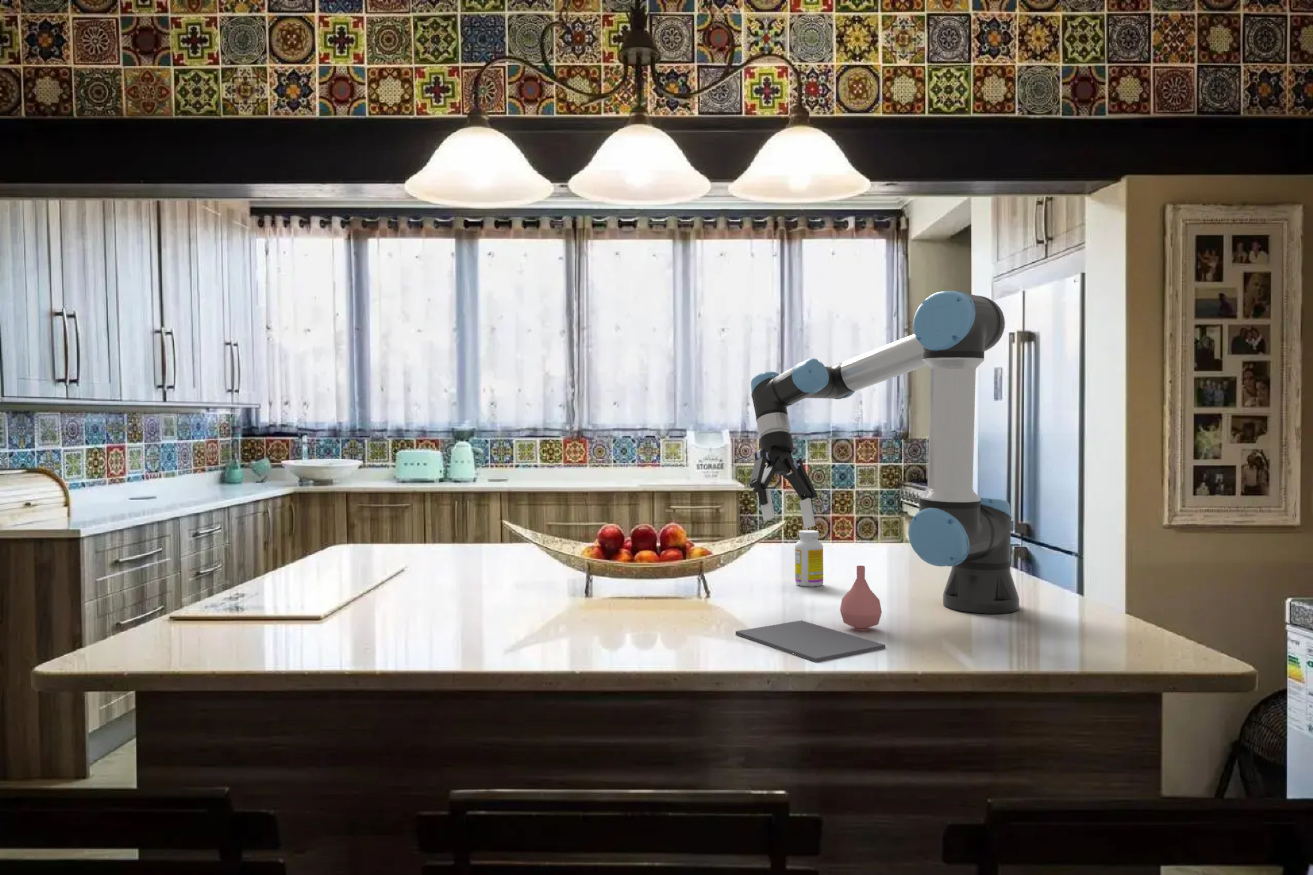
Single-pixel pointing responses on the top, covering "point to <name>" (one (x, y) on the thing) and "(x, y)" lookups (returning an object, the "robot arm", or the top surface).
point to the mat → (810, 640)
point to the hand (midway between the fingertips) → (789, 523)
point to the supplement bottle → (809, 559)
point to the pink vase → (860, 604)
